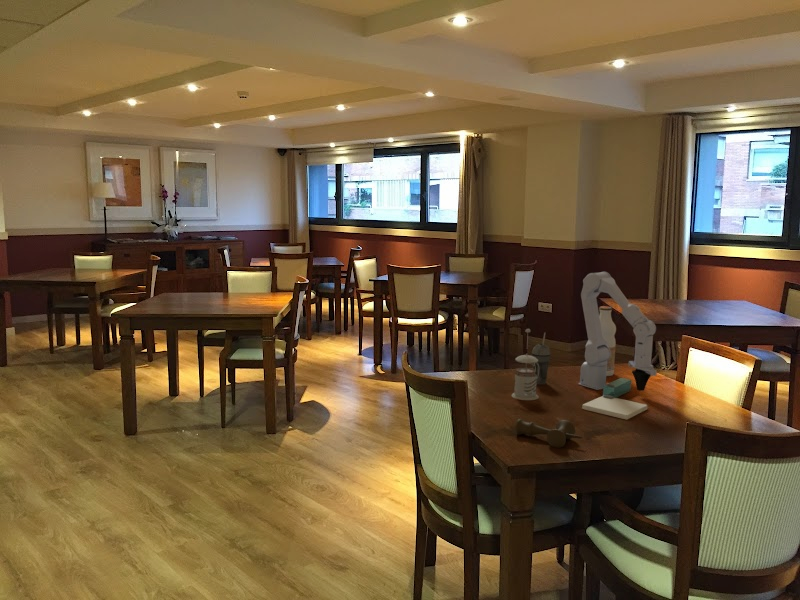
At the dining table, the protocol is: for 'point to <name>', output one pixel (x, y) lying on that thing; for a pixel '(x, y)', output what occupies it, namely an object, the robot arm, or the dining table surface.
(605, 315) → the fruit juice
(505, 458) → the dining table surface
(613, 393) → the dark green rectangular beam
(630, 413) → the stool seat
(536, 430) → the kendama
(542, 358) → the beverage cup
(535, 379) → the french press
